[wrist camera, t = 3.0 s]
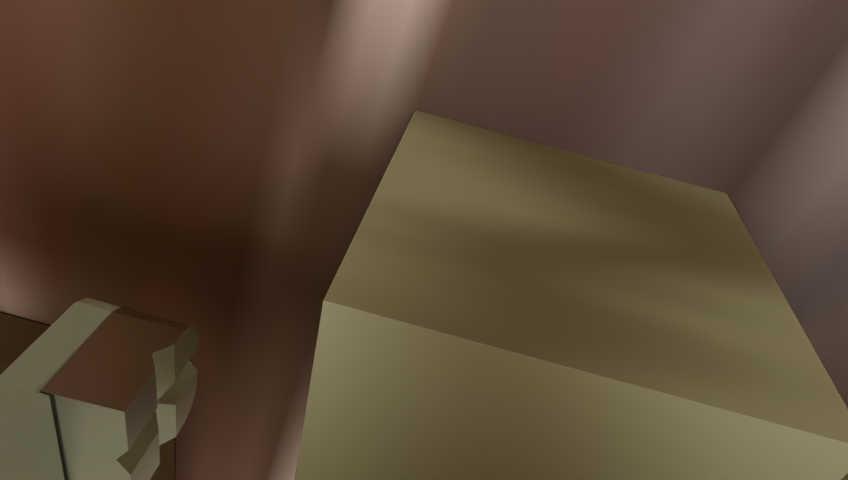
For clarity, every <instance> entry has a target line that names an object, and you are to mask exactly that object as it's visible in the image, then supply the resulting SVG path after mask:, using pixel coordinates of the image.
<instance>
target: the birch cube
mask: <svg viewBox="0 0 848 480" xmlns="http://www.w3.org/2000/svg"><path fill="white" fill-rule="evenodd" d="M847 473H848V408H847V407H846V405H845V403H844V401H843V400H842V398H841V396H840V394H839V392H838V391H837V389H836V387H835V385H834V384H833V382H832V380H831V378H830V376H829V375H828V373H827V371H826V369H825V368H824V366H823V364H822V362H821V361H820V359H819V357H818V355H817V353H816V352H815V350H814V348H813V346H812V345H811V343H810V341H809V339H808V337H807V336H806V334H805V332H804V330H803V329H802V327H801V325H800V323H799V321H798V320H797V318H796V316H795V314H794V313H793V311H792V309H791V307H790V305H789V304H788V302H787V300H786V298H785V297H784V295H783V293H782V291H781V289H780V288H779V286H778V284H777V282H776V281H775V279H774V277H773V275H772V273H771V272H770V270H769V268H768V266H767V265H766V263H765V261H764V259H763V257H762V256H761V254H760V252H759V250H758V249H757V247H756V245H755V243H754V241H753V240H752V238H751V236H750V234H749V233H748V231H747V229H746V227H745V225H744V224H743V222H742V220H741V218H740V217H739V215H738V213H737V211H736V209H735V208H734V206H733V204H732V202H731V201H730V199H729V197H728V195H727V193H724V192H720V191H716V190H712V189H709V188H705V187H701V186H697V185H694V184H690V183H686V182H682V181H679V180H675V179H671V178H667V177H664V176H660V175H656V174H652V173H649V172H645V171H641V170H638V169H634V168H630V167H626V166H623V165H619V164H615V163H611V162H608V161H604V160H600V159H596V158H593V157H589V156H585V155H581V154H578V153H574V152H570V151H566V150H563V149H559V148H555V147H551V146H548V145H544V144H540V143H536V142H533V141H529V140H525V139H521V138H518V137H514V136H510V135H507V134H503V133H499V132H495V131H492V130H488V129H484V128H480V127H477V126H473V125H469V124H465V123H462V122H458V121H454V120H450V119H447V118H443V117H439V116H435V115H432V114H428V113H424V112H420V111H417V110H415V112H414V114H413V116H412V118H411V120H410V122H409V124H408V126H407V128H406V130H405V132H404V135H403V137H402V139H401V141H400V143H399V145H398V147H397V149H396V151H395V153H394V155H393V157H392V159H391V161H390V163H389V166H388V168H387V170H386V172H385V174H384V176H383V178H382V180H381V182H380V184H379V186H378V188H377V190H376V192H375V195H374V197H373V199H372V201H371V203H370V205H369V207H368V209H367V211H366V213H365V215H364V217H363V219H362V221H361V223H360V226H359V228H358V230H357V232H356V234H355V236H354V238H353V240H352V242H351V244H350V246H349V248H348V250H347V252H346V254H345V257H344V259H343V261H342V263H341V265H340V267H339V269H338V271H337V273H336V275H335V277H334V279H333V281H332V283H331V286H330V288H329V290H328V292H327V294H326V296H325V298H324V300H323V306H322V312H321V318H320V324H319V331H318V337H317V343H316V349H315V356H314V362H313V368H312V374H311V381H310V387H309V393H308V399H307V406H306V412H305V418H304V424H303V430H302V437H301V443H300V449H299V455H298V462H297V468H296V474H295V480H841V479H842V478H843V477H844V476H845V475H846V474H847Z"/></svg>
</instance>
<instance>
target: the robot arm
mask: <svg viewBox="0 0 848 480" xmlns="http://www.w3.org/2000/svg"><path fill="white" fill-rule="evenodd" d="M197 348H198V346H197V329H195V328H194V327H192V326H190V325H186V324H183V323H179V322H176V321H172V320H169V319H165V318H161V317H158V316H154V315H151V314H147V313H144V312H140V311H136V310H133V309H129V308H126V307H119V306H116V305H112V304H109V303H105V302H102V301H98V300H95V299H91V298H84V299H82V300H79V301H77V302H75V303H74V304H73V305H72V306H71V307H69V308H68V309H67V310H66V311H65V312H64V313H63V314H62V315H61V316H60V317H59V318H58V319H57V320H56V321H55V322H54V323H53V324H52V325H51V326H50V327H49V328H48V329H47V330H46V331H45V332H44V333H43V334H42V335H41V336H40V337H39V338H38V339H37V340H36V341H35V342H34V343H33V344H31V345H30V346H29V347H28V348H27V349H26V350H25V351H24V352H23V353H22V354H21V355H20V356H19V357H18V358H17V359H16V360H15V361H14V362H13V363H12V364H11V365H10V366H9V367H8V368H7V369H6V370H5V371H4V372H3V373H2V374H1V375H0V480H150V479H151V477H152V476H153V474H154V472H155V471H156V469H157V467H158V466H159V464H160V454H159V446H160V445H162V444H163V443H165V442H167V441H169V440H171V439H173V438H174V437H176V436H177V434H178V433H179V431H180V429H181V427H182V426H183V424H184V422H185V421H186V419H187V416H188V414H189V411H190V408H191V406H192V403H193V401H194V397H195V392H196V387H197V369H196V368H195V367H194V365H193V364H192V363H191V361H190V358H191V357H192V355H193V354H194V352H195V351H196V349H197Z"/></svg>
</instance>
